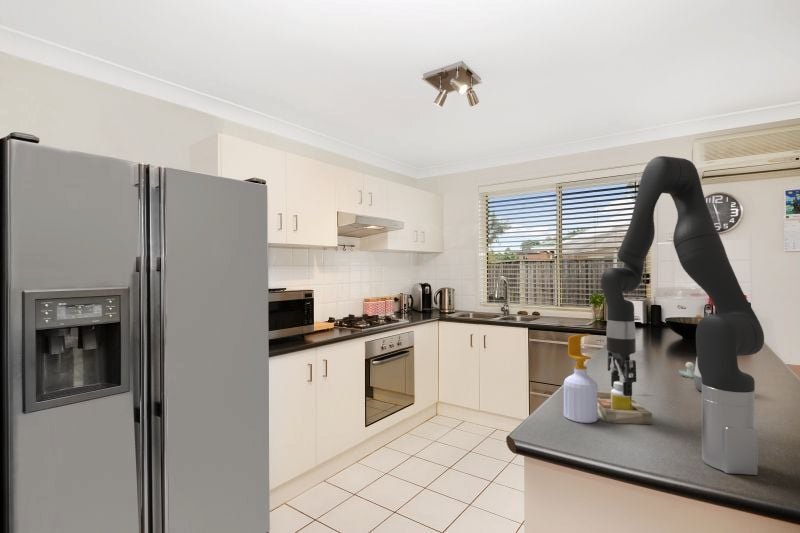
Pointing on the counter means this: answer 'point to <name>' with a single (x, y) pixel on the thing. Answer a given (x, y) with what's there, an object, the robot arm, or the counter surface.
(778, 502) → the counter surface
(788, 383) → the counter surface
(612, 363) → the robot arm
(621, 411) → the socket block
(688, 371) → the pacifier
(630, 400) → the supplement bottle
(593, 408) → the soap bottle
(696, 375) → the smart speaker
